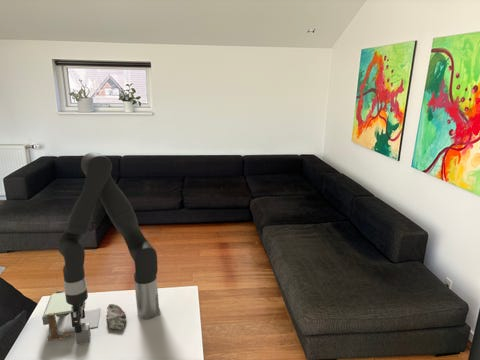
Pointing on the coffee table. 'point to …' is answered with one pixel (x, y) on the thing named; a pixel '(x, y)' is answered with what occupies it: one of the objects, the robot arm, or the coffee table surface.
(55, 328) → the frame
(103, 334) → the coffee table surface
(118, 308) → the mineral rock
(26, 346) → the coffee table surface
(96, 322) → the mat
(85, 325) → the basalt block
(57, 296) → the trapdoor
